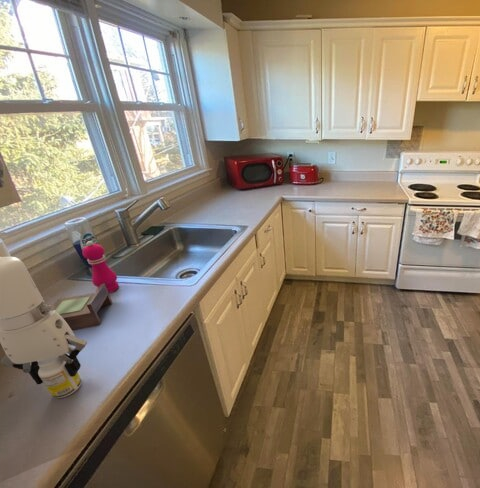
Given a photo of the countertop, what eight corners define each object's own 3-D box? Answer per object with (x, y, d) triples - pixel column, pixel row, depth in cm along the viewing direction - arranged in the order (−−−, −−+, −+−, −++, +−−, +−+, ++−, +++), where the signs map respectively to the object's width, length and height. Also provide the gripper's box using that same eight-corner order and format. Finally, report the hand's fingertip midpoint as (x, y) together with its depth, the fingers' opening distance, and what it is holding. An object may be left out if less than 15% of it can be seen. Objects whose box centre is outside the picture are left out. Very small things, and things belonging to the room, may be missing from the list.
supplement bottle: (71, 376, 71) (54, 346, 66) (88, 381, 69) (71, 351, 65) (46, 396, 66) (26, 365, 61) (64, 402, 64) (44, 371, 60)
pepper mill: (109, 295, 102) (88, 246, 93) (92, 293, 103) (70, 245, 94) (125, 284, 108) (107, 237, 99) (109, 282, 109) (89, 236, 101)
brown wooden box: (45, 335, 84) (32, 314, 80) (64, 311, 94) (54, 291, 91) (100, 324, 88) (90, 304, 84) (112, 302, 98) (104, 283, 95)
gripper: (80, 296, 63) (108, 354, 71) (-18, 312, 58) (23, 372, 66) (64, 316, 57) (96, 378, 65) (-48, 337, 52) (2, 400, 60)
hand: (59, 374), depth 65 cm, fingers closed on supplement bottle, 5 cm apart
